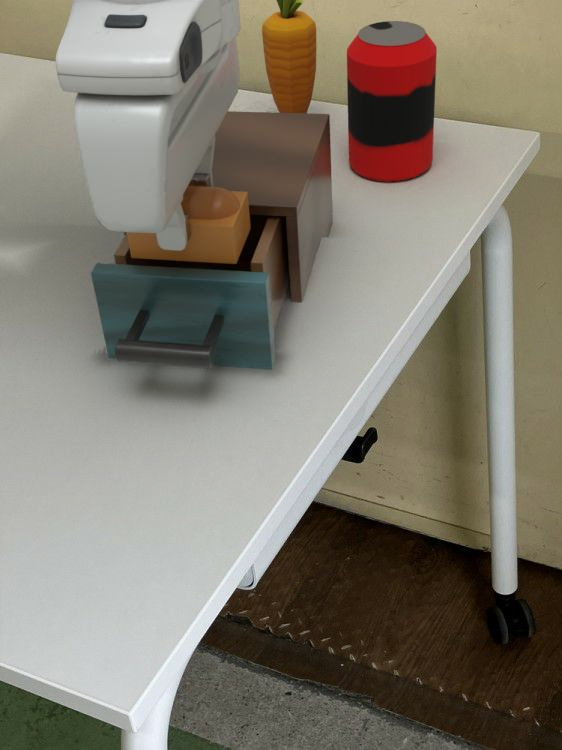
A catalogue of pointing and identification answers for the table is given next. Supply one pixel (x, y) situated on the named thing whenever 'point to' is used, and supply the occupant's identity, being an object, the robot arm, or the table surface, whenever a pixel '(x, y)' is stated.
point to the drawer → (197, 304)
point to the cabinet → (281, 177)
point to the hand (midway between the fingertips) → (187, 220)
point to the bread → (204, 228)
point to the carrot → (290, 56)
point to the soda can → (391, 101)
